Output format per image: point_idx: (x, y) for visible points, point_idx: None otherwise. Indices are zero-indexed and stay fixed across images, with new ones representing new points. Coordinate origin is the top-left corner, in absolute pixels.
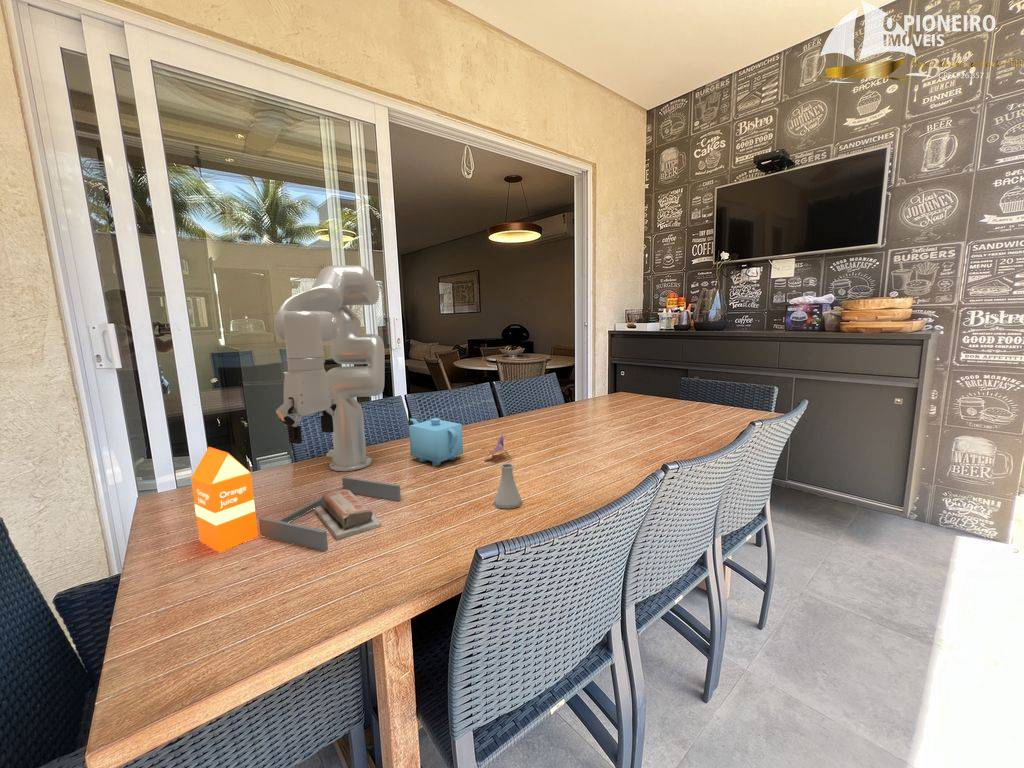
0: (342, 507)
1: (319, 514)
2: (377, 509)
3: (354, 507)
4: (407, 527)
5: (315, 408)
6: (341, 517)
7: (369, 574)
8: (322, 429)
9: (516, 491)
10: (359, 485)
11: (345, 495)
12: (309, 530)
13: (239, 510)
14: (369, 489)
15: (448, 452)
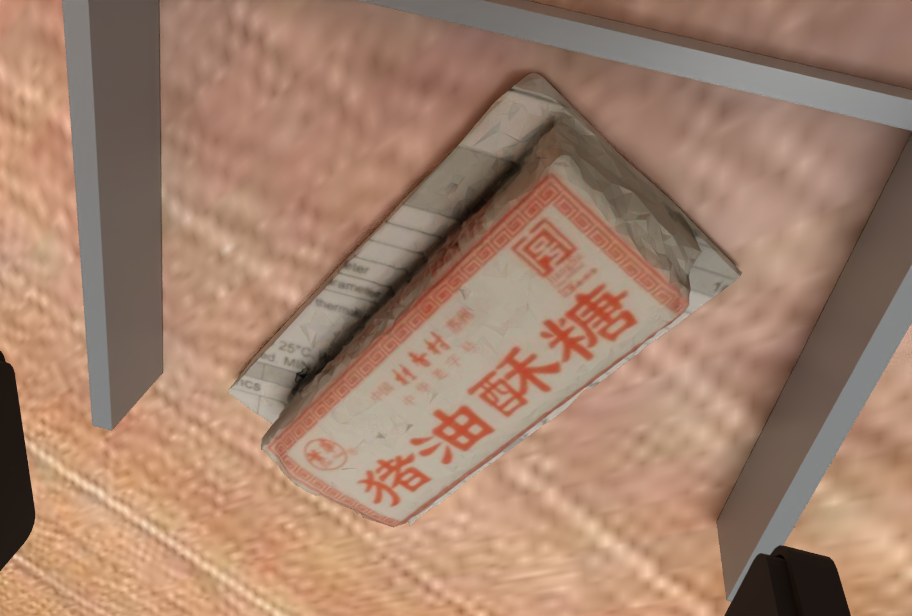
0: (350, 411)
1: (431, 174)
2: (596, 444)
3: (381, 462)
4: (421, 606)
5: None
6: (278, 425)
7: (89, 561)
8: (757, 603)
9: None
10: (867, 300)
11: (544, 347)
12: (91, 345)
13: None
14: (816, 373)
15: None
